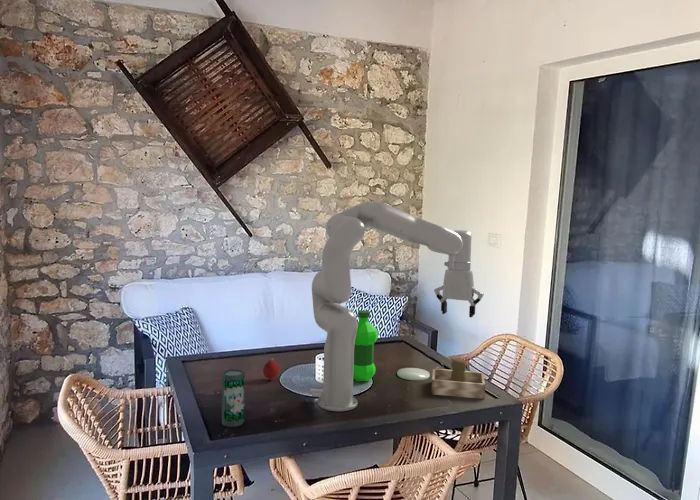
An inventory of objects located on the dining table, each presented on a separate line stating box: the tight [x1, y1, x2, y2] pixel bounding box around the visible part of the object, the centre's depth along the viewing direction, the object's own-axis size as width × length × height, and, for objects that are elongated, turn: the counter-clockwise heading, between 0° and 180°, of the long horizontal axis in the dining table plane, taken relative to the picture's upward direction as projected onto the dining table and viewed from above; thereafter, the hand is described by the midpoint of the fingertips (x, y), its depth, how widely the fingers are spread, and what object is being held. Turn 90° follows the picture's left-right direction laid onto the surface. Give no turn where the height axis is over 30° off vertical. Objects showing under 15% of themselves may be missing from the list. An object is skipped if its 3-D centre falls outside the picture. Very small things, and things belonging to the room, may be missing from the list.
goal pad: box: [396, 367, 431, 382], centre depth 216 cm, size 12×12×1 cm
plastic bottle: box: [353, 309, 379, 382], centre depth 207 cm, size 10×10×25 cm
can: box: [221, 368, 245, 428], centre depth 168 cm, size 6×6×15 cm
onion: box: [262, 358, 281, 381], centre depth 205 cm, size 6×6×8 cm
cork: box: [450, 358, 468, 382], centre depth 201 cm, size 6×6×11 cm
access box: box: [430, 368, 486, 400], centre depth 201 cm, size 18×13×5 cm
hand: (457, 314), depth 202 cm, fingers open, 9 cm apart
